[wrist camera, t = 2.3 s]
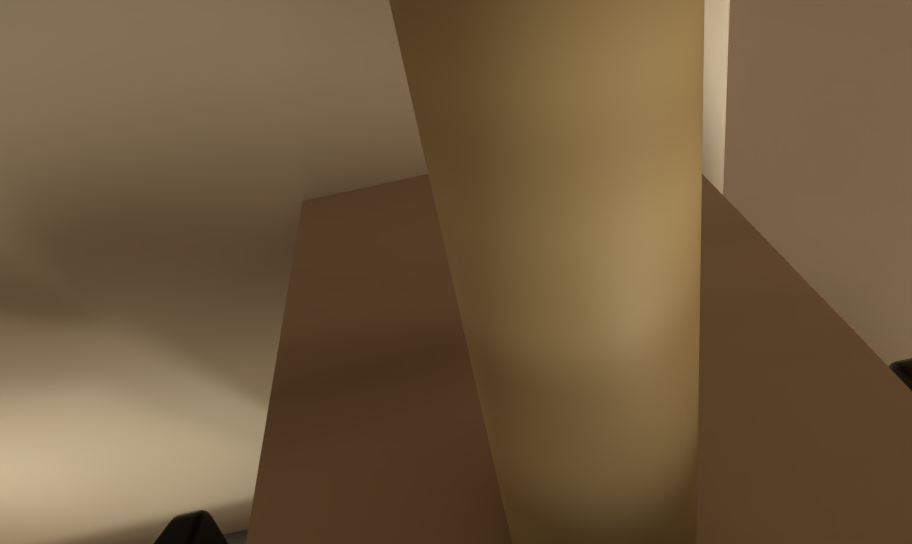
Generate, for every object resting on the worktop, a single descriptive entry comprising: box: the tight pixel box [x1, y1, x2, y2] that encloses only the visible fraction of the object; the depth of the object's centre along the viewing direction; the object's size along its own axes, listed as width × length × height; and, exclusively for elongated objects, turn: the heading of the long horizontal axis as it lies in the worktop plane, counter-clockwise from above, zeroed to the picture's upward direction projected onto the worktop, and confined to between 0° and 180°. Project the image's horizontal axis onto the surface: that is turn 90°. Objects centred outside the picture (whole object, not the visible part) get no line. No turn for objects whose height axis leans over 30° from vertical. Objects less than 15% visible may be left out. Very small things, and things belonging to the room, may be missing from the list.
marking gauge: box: [246, 0, 912, 544], centre depth 7 cm, size 10×5×7 cm, turn 11°
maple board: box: [0, 0, 730, 544], centre depth 11 cm, size 14×22×2 cm, turn 101°
